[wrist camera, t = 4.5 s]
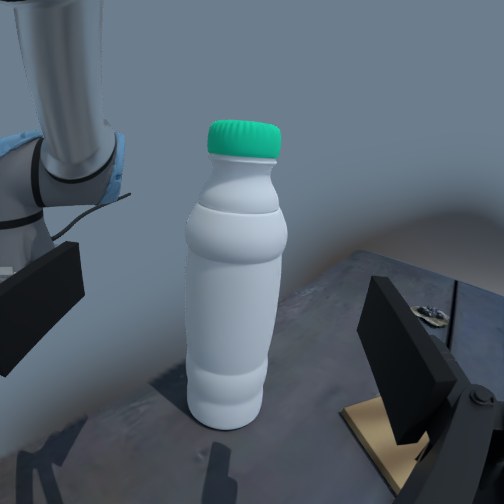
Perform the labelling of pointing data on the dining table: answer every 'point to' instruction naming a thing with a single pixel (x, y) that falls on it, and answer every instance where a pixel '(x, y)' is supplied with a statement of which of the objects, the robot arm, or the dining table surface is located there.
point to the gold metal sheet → (383, 441)
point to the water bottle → (233, 275)
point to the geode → (431, 315)
